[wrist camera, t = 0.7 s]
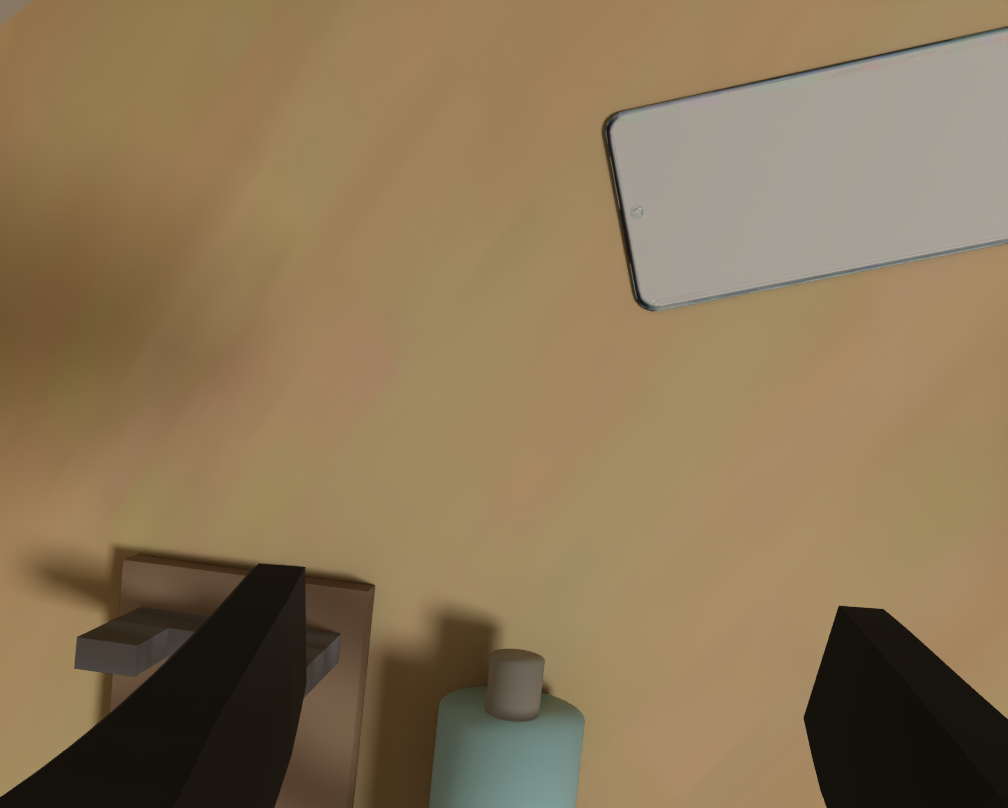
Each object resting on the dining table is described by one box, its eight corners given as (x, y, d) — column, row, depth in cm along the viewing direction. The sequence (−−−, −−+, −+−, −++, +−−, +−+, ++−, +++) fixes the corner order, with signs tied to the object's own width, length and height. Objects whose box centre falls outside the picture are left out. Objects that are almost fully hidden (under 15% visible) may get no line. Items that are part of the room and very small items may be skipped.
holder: (337, 966, 34) (291, 1067, 29) (103, 925, 35) (19, 1016, 30) (375, 585, 33) (334, 620, 28) (137, 554, 34) (57, 583, 29)
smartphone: (1094, 225, 30) (639, 314, 32) (1086, 228, 31) (638, 315, 32) (1056, 15, 30) (601, 115, 32) (1047, 21, 31) (602, 119, 32)
